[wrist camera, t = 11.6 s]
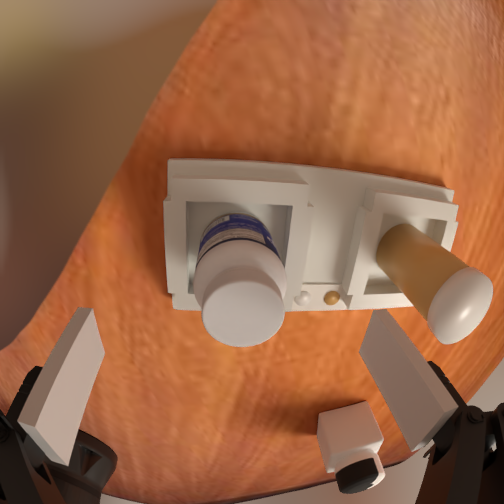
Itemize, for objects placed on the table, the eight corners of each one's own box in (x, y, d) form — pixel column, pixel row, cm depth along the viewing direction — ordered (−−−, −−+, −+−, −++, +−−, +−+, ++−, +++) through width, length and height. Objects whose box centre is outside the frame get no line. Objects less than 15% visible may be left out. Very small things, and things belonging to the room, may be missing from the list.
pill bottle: (271, 273, 23) (294, 353, 15) (203, 277, 23) (195, 359, 15) (271, 207, 21) (302, 265, 13) (197, 211, 20) (180, 271, 12)
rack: (175, 300, 25) (153, 400, 15) (170, 158, 20) (120, 192, 10) (415, 298, 27) (472, 366, 17) (446, 187, 22) (532, 229, 13)
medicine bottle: (316, 435, 37) (333, 501, 26) (318, 412, 34) (340, 488, 23) (360, 424, 37) (383, 486, 26) (367, 399, 34) (397, 469, 23)
